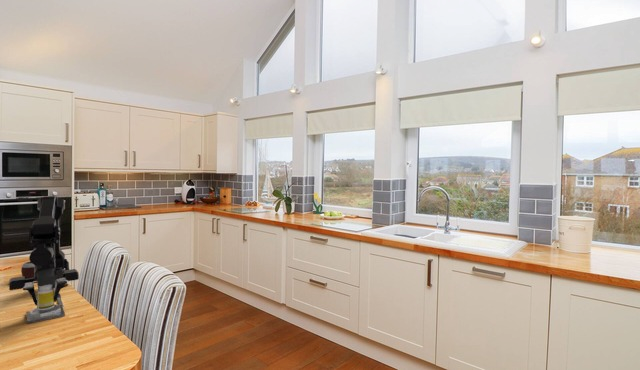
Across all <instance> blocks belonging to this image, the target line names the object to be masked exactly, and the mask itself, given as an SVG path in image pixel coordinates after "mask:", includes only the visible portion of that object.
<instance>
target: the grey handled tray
mask: <svg viewBox="0 0 640 370" xmlns="http://www.w3.org/2000/svg"><path fill="white" fill-rule="evenodd" d="M53 289H54V290H55V288H53ZM56 301H57V303H58V304H54V307H53V308H51V309H48V310H37V307H35V308H33V309H31V310H30V311H26V313H25V314H26V322H27V324H33V323H37V322H38V323H39V322H42V321H47V320H51V319H52V320H53V319H57V318H62V317H65V316H66V313H65V310H64V303H63V301H62V296H61V293H59V294H58V297H57V299H56Z"/></svg>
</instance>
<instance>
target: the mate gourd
mask: <svg viewBox="0 0 640 370" xmlns="http://www.w3.org/2000/svg"><path fill="white" fill-rule="evenodd" d="M22 276H24V277H25V279H28V278H35V274H34V264H32V263H31V262H30V261H27V262H24V263H23V264H22V266H21V277H22Z"/></svg>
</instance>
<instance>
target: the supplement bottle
mask: <svg viewBox="0 0 640 370" xmlns="http://www.w3.org/2000/svg"><path fill="white" fill-rule="evenodd" d="M36 299H37V305H36V308H37V310H48V309H51V308H53V307H54V305H55V302H54V289H53V288H52V285H50V284H49V285H44V286H38V285H37V291H36Z"/></svg>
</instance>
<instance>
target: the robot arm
mask: <svg viewBox="0 0 640 370" xmlns="http://www.w3.org/2000/svg"><path fill="white" fill-rule="evenodd" d="M36 209H37V210H38V211H39V215H38V218H36V219H35V220H33V222H32V226H30V227H29V230H28V231H29V234H28V240H27V241H28V242H27V244H28V245H27V246H33V250H32V251H31V252H30V253H29V256H28V257H29V258H28V259H29V262H31V263H32V264H34V274H35V278H28V279H25V277H24V276H22V275H21V276H15V277H11V278H10V279H9V281H8V287H9V288H8V290H9V291H15V290H23V291H27V292H28V293H29V295H30V296H31V299H32V301H33V303H34V305H35V306H37V293H36V291H35V290H36V289H35V285H34V284H36V285H37V287H38V286H44V285H49V284H50V285H52V288H55V290H54V303H55V302H56V301H57V297H58V294H60V291H61V289H62V288H64V287H68V286H69V284H68V282H71V281H78V280H79V279H80V278H79V276H80V275H79V271H78V270H77V269H76V268H74V269H73V268H72V269H70V263H69V261H68V259H67V258H66V255H65V253H64V251H62V250H61V241H60V240H61V239H60V238H61V228H60V219H61V217H62V216H63V214H64V210H65V209H66V203H65V199H64V198H61V197H58V196H55V195H54V196H53V195H47V196H46V195H45V196H41V197H40V198H39V199H37V207H36Z"/></svg>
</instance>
